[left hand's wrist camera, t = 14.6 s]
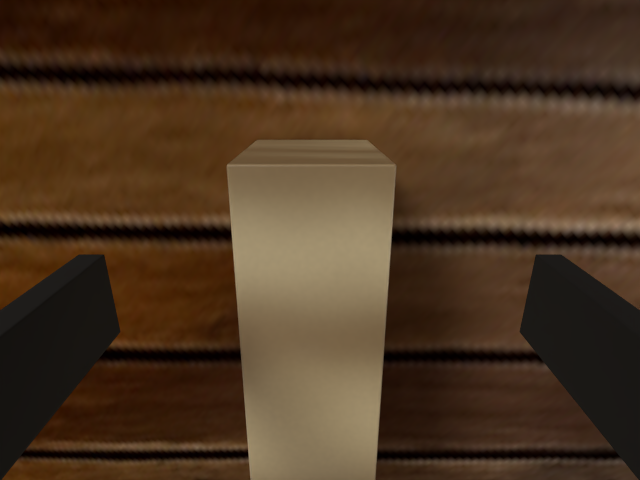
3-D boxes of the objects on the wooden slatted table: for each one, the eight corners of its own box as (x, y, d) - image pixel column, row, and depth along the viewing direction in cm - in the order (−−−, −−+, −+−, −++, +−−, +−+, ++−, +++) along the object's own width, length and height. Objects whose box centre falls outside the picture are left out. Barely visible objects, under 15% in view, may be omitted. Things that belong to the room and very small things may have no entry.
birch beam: (256, 139, 22) (225, 164, 14) (367, 139, 22) (397, 164, 14) (277, 562, 33) (266, 700, 26) (350, 561, 33) (360, 697, 26)
